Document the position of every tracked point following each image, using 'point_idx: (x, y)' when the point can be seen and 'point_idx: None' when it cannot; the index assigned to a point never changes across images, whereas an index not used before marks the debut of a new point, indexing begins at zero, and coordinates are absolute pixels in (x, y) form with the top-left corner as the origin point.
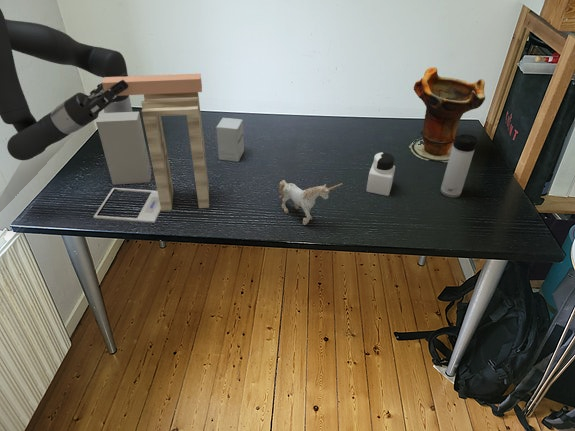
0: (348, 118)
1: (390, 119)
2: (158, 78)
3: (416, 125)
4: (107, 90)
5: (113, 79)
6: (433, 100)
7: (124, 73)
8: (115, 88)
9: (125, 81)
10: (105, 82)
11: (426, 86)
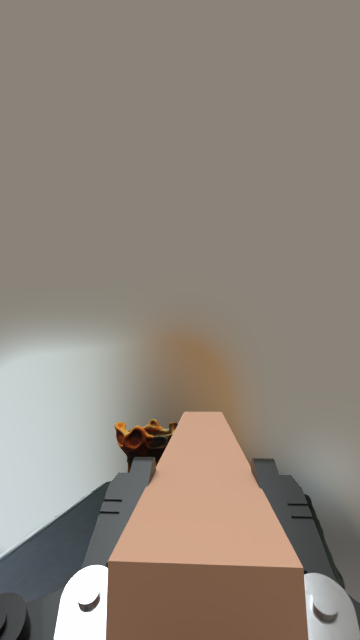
0: (21, 547)
1: (60, 517)
2: (209, 431)
3: (90, 506)
4: (356, 616)
5: (200, 507)
6: (158, 441)
7: (137, 457)
8: (319, 539)
9: (244, 471)
10: (284, 542)
11: (145, 431)
